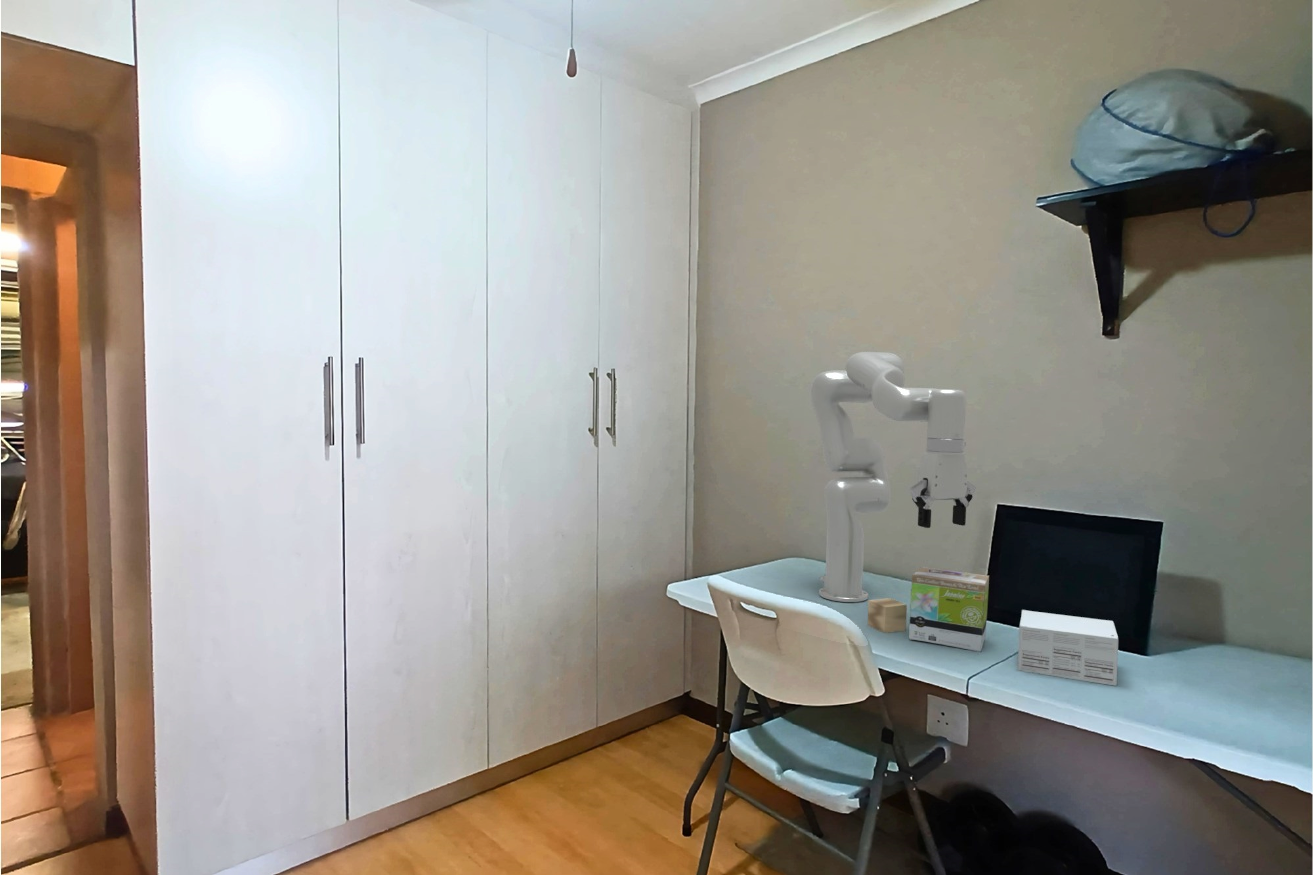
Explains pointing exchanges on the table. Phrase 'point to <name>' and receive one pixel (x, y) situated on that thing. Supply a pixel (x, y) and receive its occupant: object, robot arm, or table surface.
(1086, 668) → the supplement box
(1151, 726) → the table surface
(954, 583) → the tea box
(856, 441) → the robot arm
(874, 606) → the oak block
